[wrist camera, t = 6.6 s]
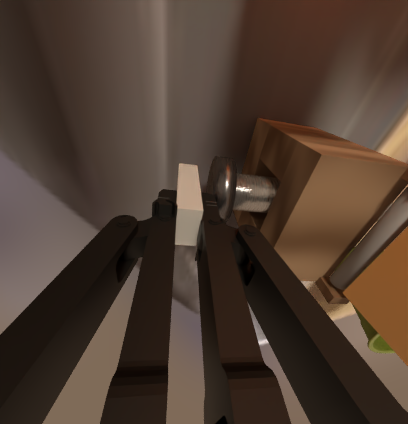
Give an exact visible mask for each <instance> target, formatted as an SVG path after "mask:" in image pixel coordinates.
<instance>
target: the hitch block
mask: <svg viewBox="0 0 408 424" xmlns="http://www.w3.org/2000/svg"><path fill="white" fill-rule="evenodd" d="M242 174H247V175H256V176H264V177H272V178H278V179H279V181H280V182H281V183H280V185H279V188H278V190H277V192H276V195H275V197H274V199H273V202H272V204H271V206H270V209H269V211H268V213H261V212H250V211H239V210H233V212H234V215H235V218H236V220H237V223H238V226H239V227H240V226H241V225H244V224H247V225H252V226H254V227H256V228H257V229H258V230H259V231H260V232H261V233H262V234H263V235H264V237H265V238H266V239H267V240H268V242H269V243H270V244H271V245H272V247H273V248H274V249H275V250H276V252H277V253H278V254H279V255H280V257H281V258H282V259H283V260H284V262H285V263H286V264H287V265H288V266H289V268H290V269H291V270H292V271H293V273H294V274H295V275H296V276H297V278H298V279H299V280H300V281H316V282H315V283H316V285H317V286H318V288H319V289H320V291H321V292H322V294H323V296H324V297H325V299H326V300H327V302H328V304H347V303H348V302H349V300H348V299H347V297H346V296H345V295H344V294H343V292H344V291H345V290H346V289H345V290H341V289H339V288H337V287H335V286H334V285H333V284H332V283H331V282H330V277H329V276H330V275H331V274H332V273H333V271H334V270H335V269H336V268H337V267H338V266H339V264H340V263H341V262H342V261H343V260H344V259H345V257H346V256H347V255H348V254H349V253H350V251H351V250H352V249H353V248H354V247H355V246H356V244H357V243H358V242H359V241H360V240H361V239H362V237H363V236H364V235H365V234H366V233H367V231H368V230H369V229H370V228H371V227H372V226H373V224H374V223H375V222H376V221H377V220H378V219H379V217H380V216H381V215H382V214H383V213H384V211H385V210H386V209H387V208H388V207H389V206H390V204H391V203H392V202H393V201H394V200H395V199H396V197H397V196H398V195H399V194H400V193H401V191H402V190H403V189H404V188H405V187H406V186H407V184H408V164H406V163H404V162H401V161H398V160H396V159H393V158H391V157H388V156H386V155H383V154H381V153H378V152H376V151H373V150H371V149H368V148H366V147H363V146H361V145H358V144H356V143H353V142H350V141H348V140H345V139H343V138H340V137H338V136H335V135H333V134H330V133H328V132H325V131H323V130H320V129H318V128H314V127H309V126H303V125H297V124H291V123H285V122H279V121H274V120H268V119H262V118H258V119H257V122H256V125H255V129H254V132H253V136H252V139H251V143H250V146H249V150H248V153H247V156H246V160H245V163H244V167H243V170H242Z"/></svg>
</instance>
